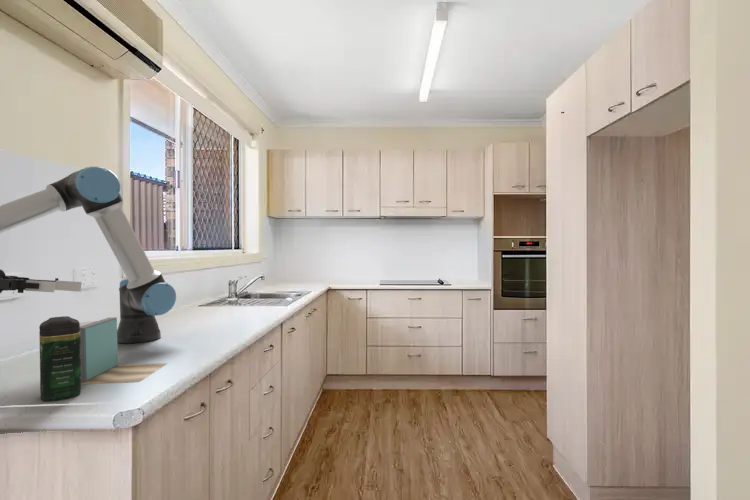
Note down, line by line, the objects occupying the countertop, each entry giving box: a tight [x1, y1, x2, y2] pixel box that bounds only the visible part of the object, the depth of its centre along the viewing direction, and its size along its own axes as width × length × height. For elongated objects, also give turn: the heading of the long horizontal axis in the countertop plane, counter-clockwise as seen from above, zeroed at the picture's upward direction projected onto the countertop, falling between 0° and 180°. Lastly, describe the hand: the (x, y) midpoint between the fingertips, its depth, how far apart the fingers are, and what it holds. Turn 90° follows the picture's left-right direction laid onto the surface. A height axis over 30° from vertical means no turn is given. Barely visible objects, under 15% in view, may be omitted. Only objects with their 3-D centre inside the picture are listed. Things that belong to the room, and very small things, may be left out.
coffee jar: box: [38, 315, 82, 402], centre depth 104 cm, size 10×8×19 cm
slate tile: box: [80, 317, 119, 383], centre depth 121 cm, size 16×2×14 cm, turn 3°
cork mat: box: [81, 362, 169, 385], centre depth 122 cm, size 18×18×1 cm
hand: (68, 286), depth 122 cm, fingers open, 13 cm apart
